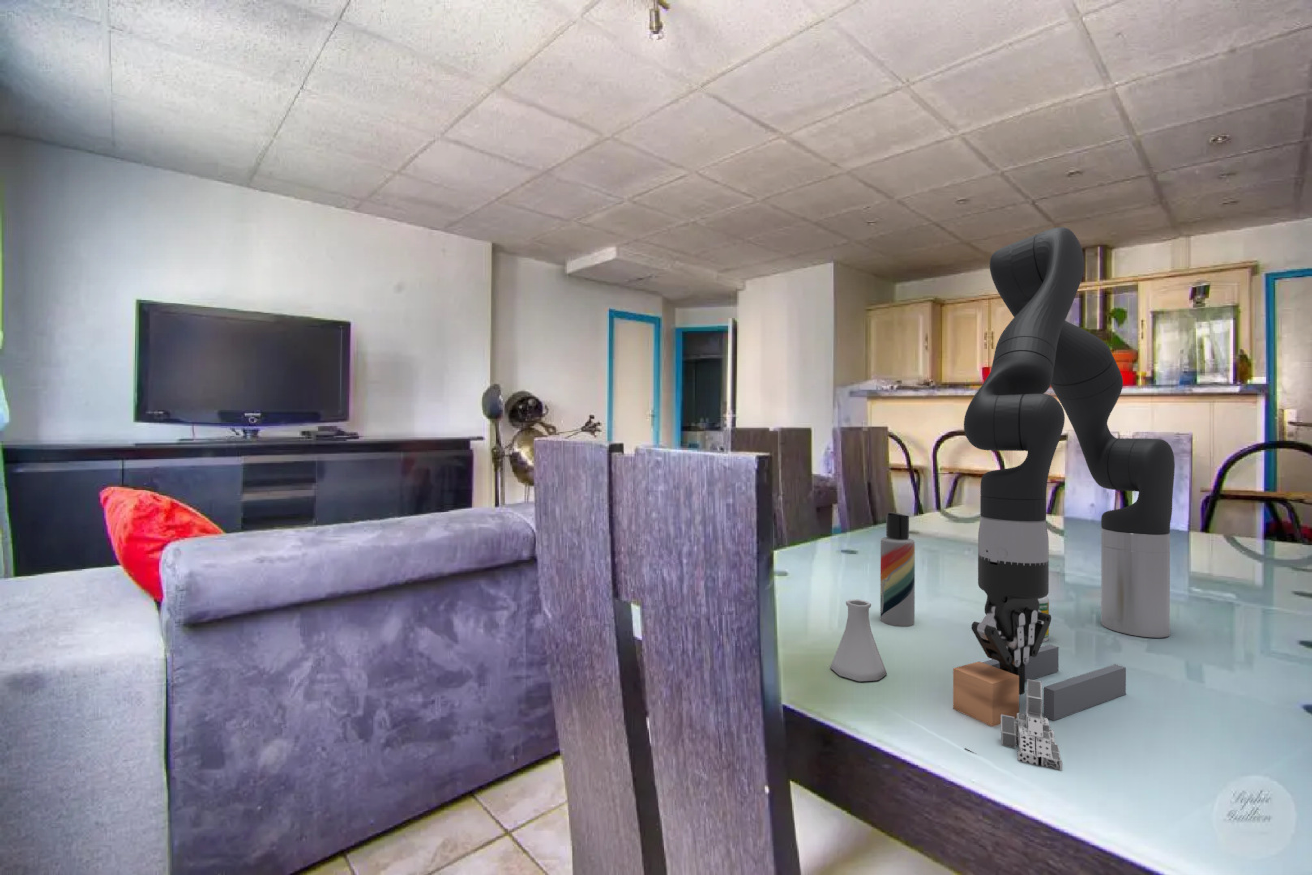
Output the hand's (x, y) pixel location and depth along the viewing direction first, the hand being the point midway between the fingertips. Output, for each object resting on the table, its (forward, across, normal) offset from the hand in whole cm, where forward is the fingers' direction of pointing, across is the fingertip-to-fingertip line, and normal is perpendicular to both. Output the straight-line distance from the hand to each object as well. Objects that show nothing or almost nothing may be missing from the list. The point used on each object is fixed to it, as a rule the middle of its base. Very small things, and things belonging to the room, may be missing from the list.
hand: (1012, 692), depth 72 cm
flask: (+2, +10, -16) cm, 19 cm away
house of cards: (+2, +9, +5) cm, 10 cm away
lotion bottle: (+2, -13, -29) cm, 32 cm away
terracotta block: (+2, +5, 0) cm, 5 cm away
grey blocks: (+2, -8, 0) cm, 9 cm away
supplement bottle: (+2, -27, -14) cm, 31 cm away
